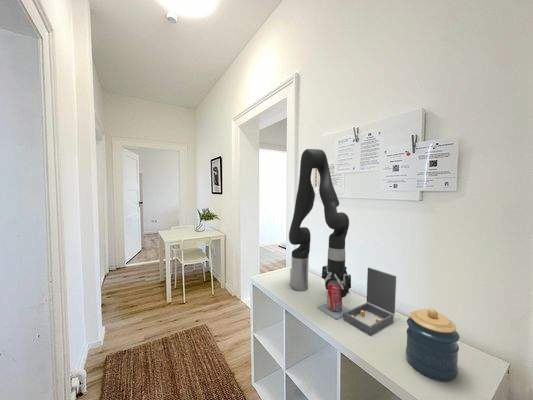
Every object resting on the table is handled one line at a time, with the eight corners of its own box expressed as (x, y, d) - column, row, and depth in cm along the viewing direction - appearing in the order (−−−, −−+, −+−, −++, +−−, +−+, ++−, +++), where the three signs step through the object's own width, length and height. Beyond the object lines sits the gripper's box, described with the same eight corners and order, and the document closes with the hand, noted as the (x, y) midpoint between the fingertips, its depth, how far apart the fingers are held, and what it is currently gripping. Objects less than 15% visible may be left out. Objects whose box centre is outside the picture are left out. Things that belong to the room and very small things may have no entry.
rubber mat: (316, 307, 102) (316, 306, 102) (333, 301, 108) (333, 300, 108) (336, 319, 93) (336, 318, 93) (353, 312, 99) (353, 311, 99)
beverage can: (331, 303, 105) (332, 278, 104) (344, 308, 100) (345, 282, 100) (324, 308, 100) (325, 282, 100) (337, 314, 96) (338, 286, 95)
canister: (434, 349, 76) (436, 298, 75) (470, 382, 63) (473, 321, 62) (396, 350, 75) (398, 299, 75) (425, 383, 63) (427, 321, 62)
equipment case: (343, 319, 93) (344, 274, 92) (367, 308, 102) (369, 267, 101) (370, 335, 83) (371, 285, 82) (394, 321, 92) (396, 276, 91)
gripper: (318, 254, 103) (317, 288, 104) (344, 263, 91) (343, 302, 92) (329, 252, 107) (328, 285, 108) (355, 260, 95) (354, 297, 96)
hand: (335, 292), depth 100 cm, fingers open, 8 cm apart
